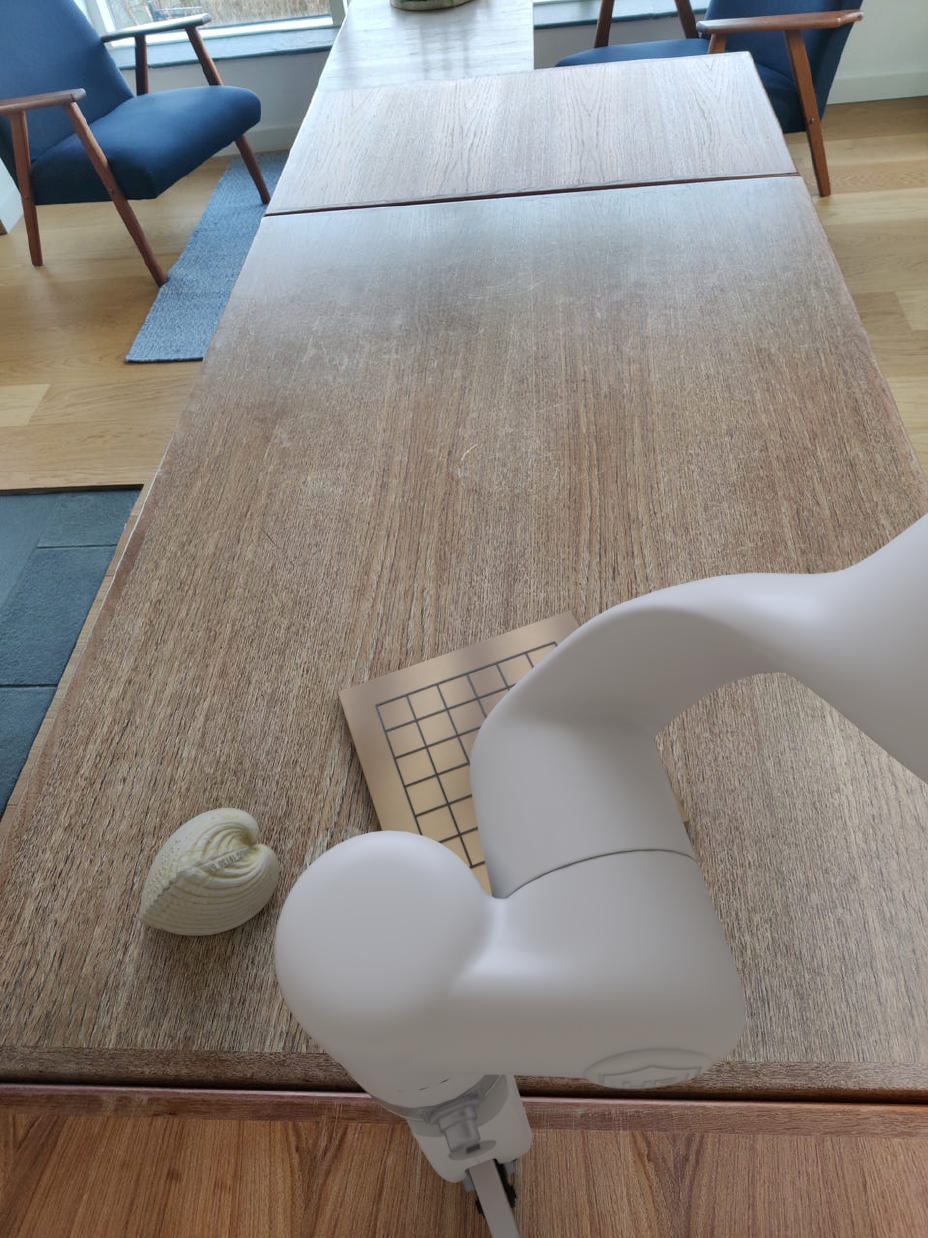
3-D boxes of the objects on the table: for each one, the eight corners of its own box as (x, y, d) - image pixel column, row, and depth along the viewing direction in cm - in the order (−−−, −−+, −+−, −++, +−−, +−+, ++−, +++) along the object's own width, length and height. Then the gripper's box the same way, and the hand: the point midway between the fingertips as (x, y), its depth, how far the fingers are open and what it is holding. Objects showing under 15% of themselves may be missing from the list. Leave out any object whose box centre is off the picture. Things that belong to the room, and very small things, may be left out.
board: (570, 620, 74) (570, 608, 72) (688, 829, 61) (690, 819, 60) (341, 701, 71) (337, 690, 70) (416, 936, 59) (413, 928, 58)
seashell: (309, 880, 60) (205, 937, 54) (260, 918, 65) (162, 973, 59) (253, 776, 61) (147, 821, 56) (210, 821, 67) (110, 866, 61)
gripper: (590, 1208, 34) (586, 1235, 48) (443, 814, 44) (475, 932, 58) (403, 1292, 33) (455, 1294, 47) (298, 869, 43) (366, 975, 57)
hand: (466, 1093), depth 52 cm, fingers open, 7 cm apart
